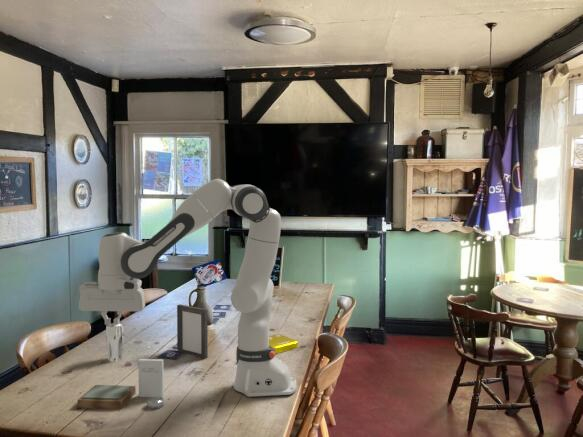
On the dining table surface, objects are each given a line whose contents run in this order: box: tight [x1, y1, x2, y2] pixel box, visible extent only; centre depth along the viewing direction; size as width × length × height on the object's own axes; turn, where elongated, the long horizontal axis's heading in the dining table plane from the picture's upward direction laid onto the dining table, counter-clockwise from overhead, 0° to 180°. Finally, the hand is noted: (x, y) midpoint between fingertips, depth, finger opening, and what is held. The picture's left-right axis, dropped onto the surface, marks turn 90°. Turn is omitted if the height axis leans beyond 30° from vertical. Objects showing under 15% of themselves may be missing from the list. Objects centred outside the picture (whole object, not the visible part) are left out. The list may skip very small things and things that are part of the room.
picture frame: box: [176, 303, 209, 360], centre depth 200 cm, size 16×2×21 cm, turn 56°
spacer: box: [146, 397, 164, 410], centre depth 154 cm, size 5×5×2 cm
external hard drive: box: [138, 358, 165, 398], centre depth 161 cm, size 2×8×12 cm, turn 86°
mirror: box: [77, 384, 136, 410], centre depth 158 cm, size 14×12×3 cm
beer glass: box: [105, 322, 125, 363], centre depth 194 cm, size 7×7×15 cm
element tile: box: [269, 333, 299, 355], centre depth 211 cm, size 15×15×5 cm
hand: (112, 324), depth 156 cm, fingers closed
